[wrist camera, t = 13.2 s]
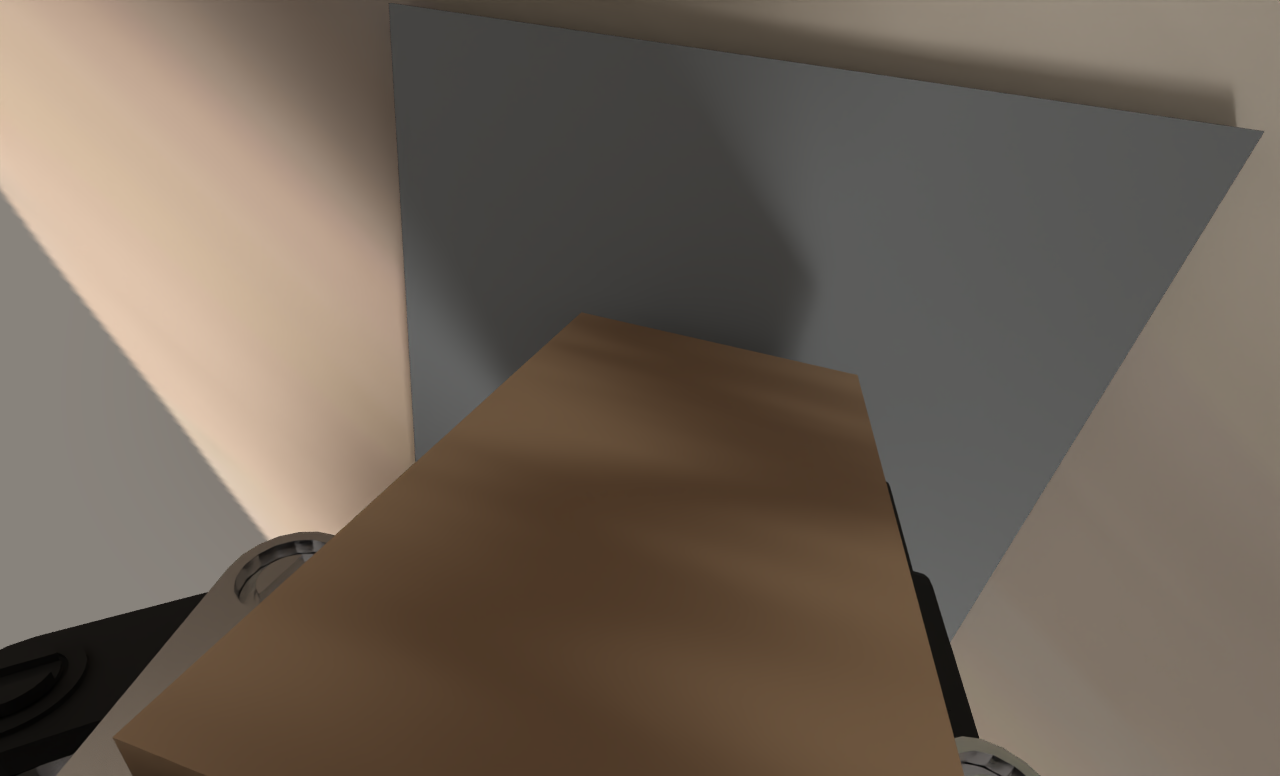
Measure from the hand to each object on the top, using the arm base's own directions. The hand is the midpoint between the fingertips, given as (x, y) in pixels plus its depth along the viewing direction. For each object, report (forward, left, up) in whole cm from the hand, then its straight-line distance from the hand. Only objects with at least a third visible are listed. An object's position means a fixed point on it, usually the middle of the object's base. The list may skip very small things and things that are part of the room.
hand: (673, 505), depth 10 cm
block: (0, 0, -2) cm, 2 cm away
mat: (0, 0, -3) cm, 3 cm away
